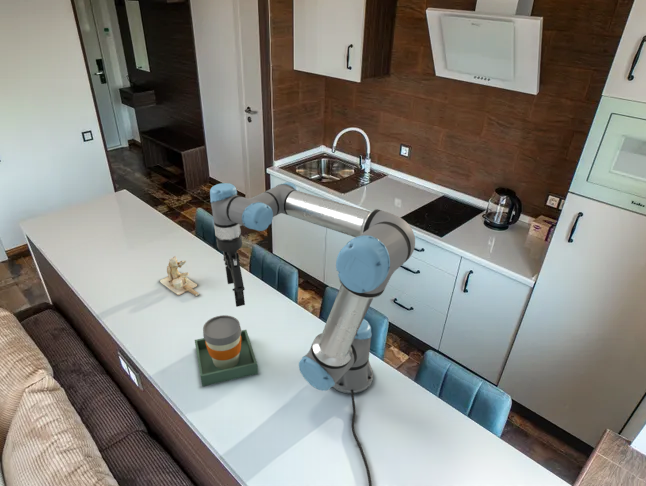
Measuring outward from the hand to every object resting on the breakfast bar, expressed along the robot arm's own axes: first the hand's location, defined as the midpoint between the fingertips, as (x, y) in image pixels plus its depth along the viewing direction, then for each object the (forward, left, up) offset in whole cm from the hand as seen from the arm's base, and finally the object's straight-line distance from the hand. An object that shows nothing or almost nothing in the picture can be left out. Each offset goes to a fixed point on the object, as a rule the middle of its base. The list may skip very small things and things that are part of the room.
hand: (236, 293), depth 147 cm
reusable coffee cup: (-3, +6, -25) cm, 26 cm away
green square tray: (-2, +6, -26) cm, 27 cm away
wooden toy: (+50, +17, -26) cm, 59 cm away
